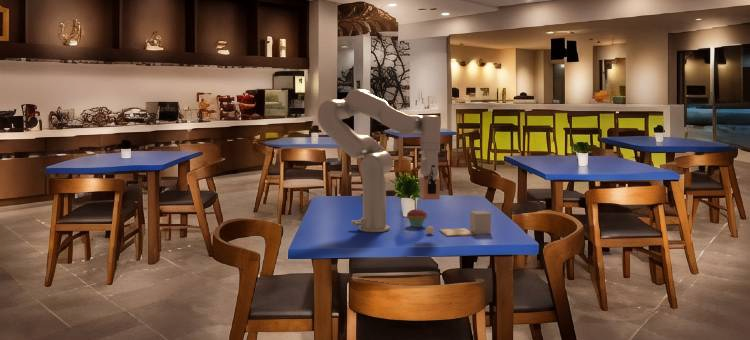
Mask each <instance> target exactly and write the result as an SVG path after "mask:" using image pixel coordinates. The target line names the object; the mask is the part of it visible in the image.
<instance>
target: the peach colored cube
mask: <svg viewBox="0 0 750 340" xmlns="http://www.w3.org/2000/svg"><path fill="white" fill-rule="evenodd" d="M430 179H431V178H430ZM440 183H441V179H440V178H439V177H436V194H428V184H429V180H428V177H424V176H423V177H419V198H420V199H421V200H428V201H429V200H440V193H441V192H440V191H441V190H440V189H441V188H440V187H441V186H440Z"/></svg>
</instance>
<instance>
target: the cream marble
mask: <svg viewBox="0 0 750 340" xmlns="http://www.w3.org/2000/svg"><path fill="white" fill-rule="evenodd" d="M434 231H435V228H434V227H433V226H432V225H430V226H429V225H428V226H427V227H426V229H425V232H426V234H427V235H432V234H433V233H434Z"/></svg>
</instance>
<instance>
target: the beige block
mask: <svg viewBox="0 0 750 340" xmlns="http://www.w3.org/2000/svg"><path fill="white" fill-rule="evenodd" d="M491 220H492V213H491V212H490V211H489V212H488V211H486V210H473V211H469V231H470V232H472V233H474V235H485V234H491V231H492V226H491V225H492V221H491Z"/></svg>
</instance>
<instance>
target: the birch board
mask: <svg viewBox="0 0 750 340" xmlns="http://www.w3.org/2000/svg"><path fill="white" fill-rule="evenodd" d="M438 231H439V232H440V233H442V234H443V235H444V236H446V237H461V236H462V237H463V236H464V237H465V236H466V237H467V236H475V234H474V233H473V232H471V231H470V229H467V227H466V228H463V227H462V228H461V227H460V228H441V229H439V230H438Z"/></svg>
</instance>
